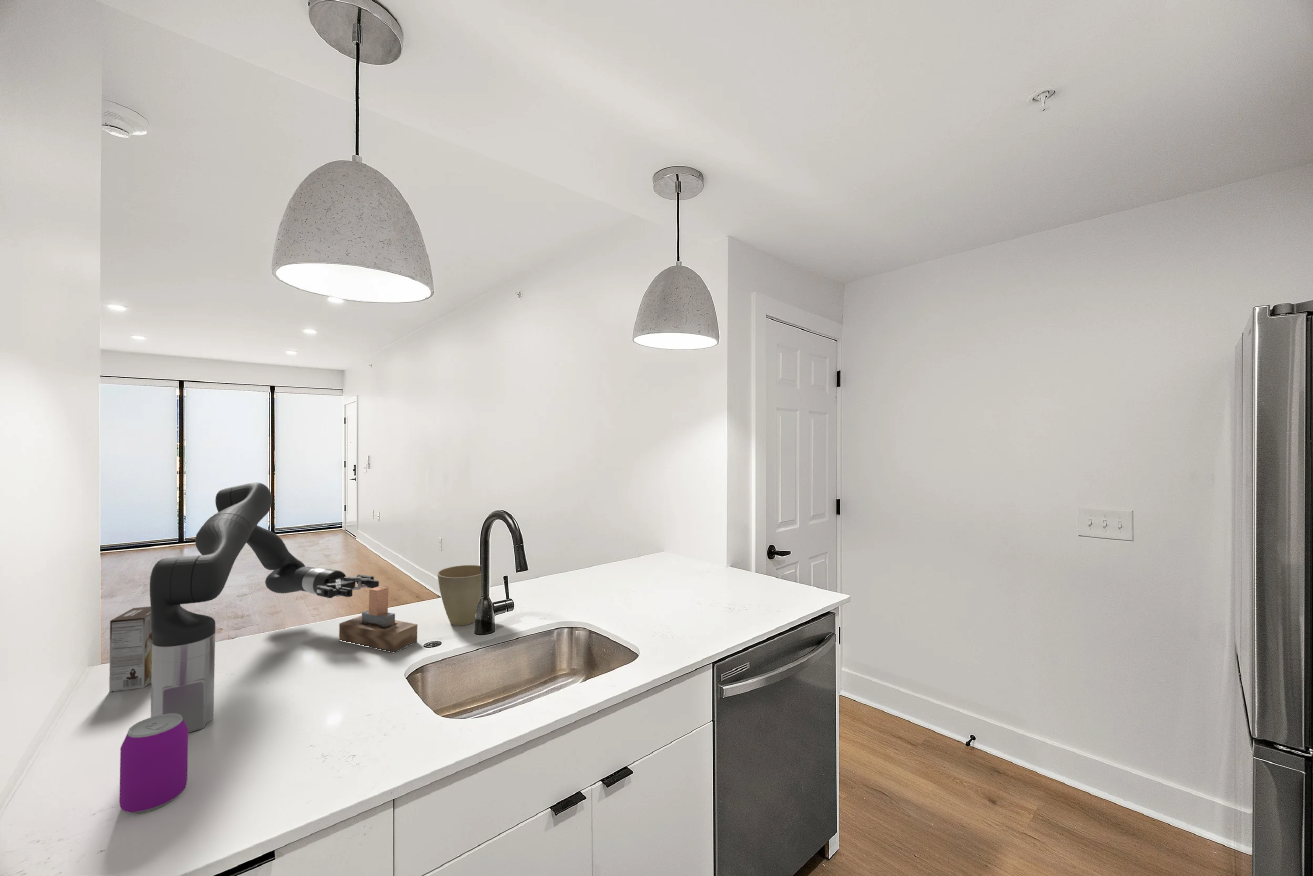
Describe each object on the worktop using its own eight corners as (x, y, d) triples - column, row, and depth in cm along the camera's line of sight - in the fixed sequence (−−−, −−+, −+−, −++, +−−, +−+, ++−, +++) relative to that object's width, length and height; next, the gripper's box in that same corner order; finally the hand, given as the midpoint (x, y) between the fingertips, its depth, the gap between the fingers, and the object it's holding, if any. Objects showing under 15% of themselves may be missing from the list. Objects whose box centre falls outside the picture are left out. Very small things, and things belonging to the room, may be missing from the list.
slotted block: (417, 642, 145) (417, 624, 145) (393, 653, 137) (393, 634, 137) (364, 631, 152) (364, 614, 152) (339, 641, 144) (339, 623, 144)
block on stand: (395, 640, 145) (396, 588, 145) (384, 644, 141) (385, 591, 141) (371, 635, 148) (372, 584, 148) (360, 639, 144) (361, 588, 144)
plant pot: (451, 612, 169) (452, 563, 169) (494, 614, 168) (495, 566, 168) (426, 629, 154) (427, 576, 154) (474, 632, 153) (475, 578, 153)
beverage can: (104, 813, 78) (106, 734, 78) (160, 780, 86) (162, 708, 86) (146, 820, 77) (148, 740, 77) (200, 786, 85) (201, 713, 85)
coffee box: (131, 674, 122) (133, 607, 122) (166, 670, 125) (167, 604, 125) (107, 693, 114) (109, 620, 114) (145, 688, 116) (146, 617, 116)
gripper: (300, 575, 145) (342, 582, 140) (346, 563, 159) (386, 569, 153) (300, 601, 145) (341, 609, 140) (346, 588, 159) (385, 595, 153)
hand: (365, 588), depth 146 cm, fingers open, 8 cm apart
